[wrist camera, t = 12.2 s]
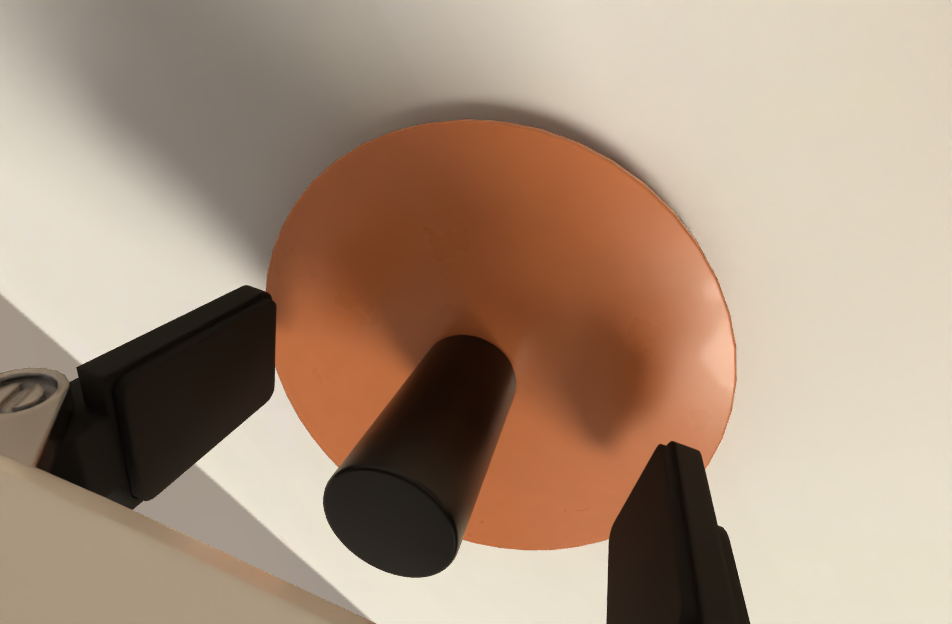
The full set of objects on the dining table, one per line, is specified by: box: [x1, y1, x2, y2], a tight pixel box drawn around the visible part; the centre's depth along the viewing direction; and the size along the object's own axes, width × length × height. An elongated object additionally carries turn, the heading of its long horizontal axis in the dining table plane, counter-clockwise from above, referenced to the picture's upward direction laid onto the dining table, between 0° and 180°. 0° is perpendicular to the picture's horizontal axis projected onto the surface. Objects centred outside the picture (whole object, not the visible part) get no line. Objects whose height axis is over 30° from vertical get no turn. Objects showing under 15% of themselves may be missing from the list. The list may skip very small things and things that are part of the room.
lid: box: [266, 119, 737, 578], centre depth 11 cm, size 13×13×6 cm
